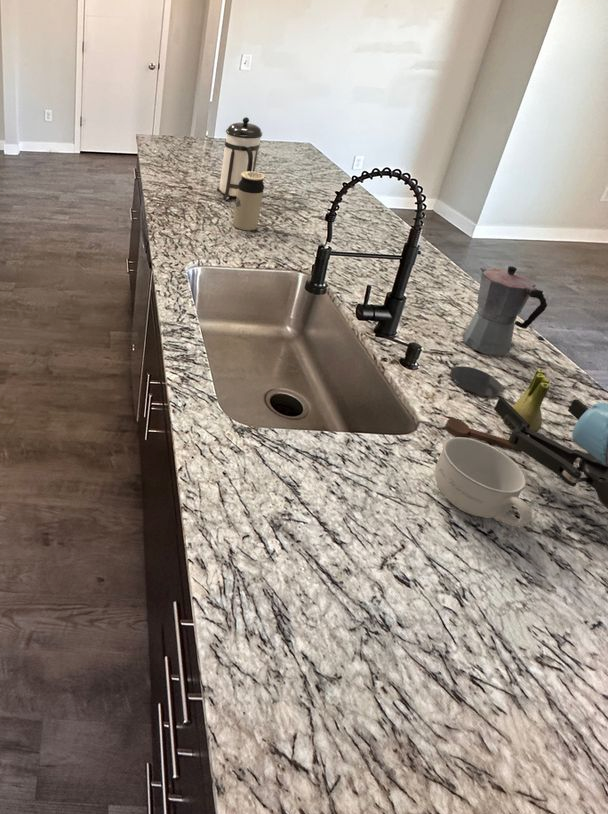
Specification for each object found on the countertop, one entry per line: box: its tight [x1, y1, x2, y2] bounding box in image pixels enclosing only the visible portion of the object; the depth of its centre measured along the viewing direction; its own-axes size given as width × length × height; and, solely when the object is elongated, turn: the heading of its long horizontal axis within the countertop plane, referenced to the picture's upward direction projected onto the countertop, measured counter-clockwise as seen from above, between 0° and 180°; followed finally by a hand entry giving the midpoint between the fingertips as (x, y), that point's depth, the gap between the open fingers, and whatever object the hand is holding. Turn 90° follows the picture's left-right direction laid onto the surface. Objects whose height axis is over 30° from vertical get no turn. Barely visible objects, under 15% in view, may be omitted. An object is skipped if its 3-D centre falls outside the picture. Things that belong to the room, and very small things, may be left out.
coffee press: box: [216, 116, 263, 201], centre depth 198 cm, size 17×16×30 cm
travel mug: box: [232, 171, 266, 231], centre depth 175 cm, size 8×8×18 cm
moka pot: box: [462, 265, 548, 357], centre depth 118 cm, size 10×15×20 cm, turn 18°
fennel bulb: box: [512, 368, 550, 433], centre depth 97 cm, size 6×5×12 cm
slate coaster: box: [449, 365, 503, 399], centre depth 111 cm, size 9×9×1 cm
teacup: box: [434, 436, 533, 528], centre depth 82 cm, size 14×11×8 cm
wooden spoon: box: [444, 418, 523, 454], centre depth 97 cm, size 12×4×1 cm, turn 63°
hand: (535, 404), depth 96 cm, fingers open, 13 cm apart
